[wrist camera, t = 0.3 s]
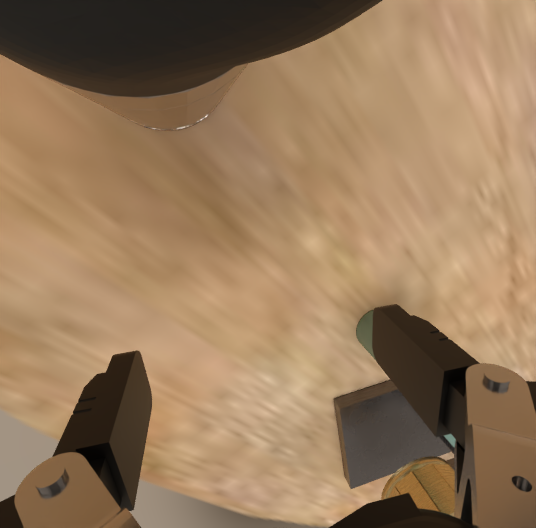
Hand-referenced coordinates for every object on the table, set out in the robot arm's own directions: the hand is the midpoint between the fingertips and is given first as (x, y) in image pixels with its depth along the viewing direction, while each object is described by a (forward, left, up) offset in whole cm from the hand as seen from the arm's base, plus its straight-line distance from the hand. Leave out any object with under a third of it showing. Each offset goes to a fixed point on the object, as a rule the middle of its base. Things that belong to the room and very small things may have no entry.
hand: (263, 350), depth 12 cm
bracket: (+26, +14, -17) cm, 34 cm away
